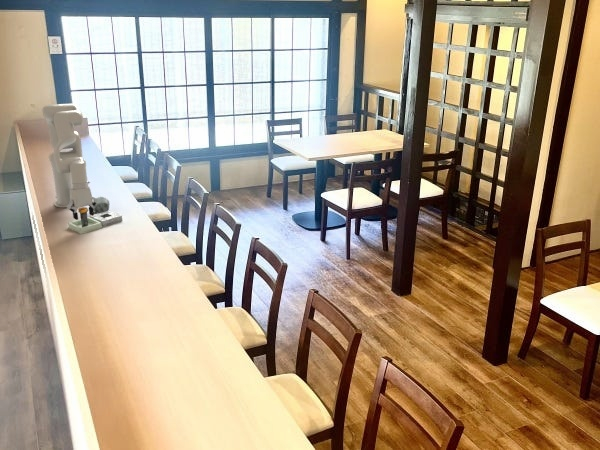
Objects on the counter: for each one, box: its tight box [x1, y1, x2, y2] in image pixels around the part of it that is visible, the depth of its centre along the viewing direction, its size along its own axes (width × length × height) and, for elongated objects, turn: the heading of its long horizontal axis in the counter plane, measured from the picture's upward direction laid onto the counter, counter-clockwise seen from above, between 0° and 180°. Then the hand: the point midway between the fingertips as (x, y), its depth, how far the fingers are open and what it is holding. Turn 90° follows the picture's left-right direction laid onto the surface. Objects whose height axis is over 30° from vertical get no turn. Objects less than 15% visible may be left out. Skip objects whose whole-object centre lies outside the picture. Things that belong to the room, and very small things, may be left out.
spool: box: [93, 196, 110, 214], centre depth 316 cm, size 14×10×10 cm
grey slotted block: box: [89, 209, 123, 228], centre depth 304 cm, size 12×12×3 cm
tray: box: [67, 216, 103, 235], centre depth 294 cm, size 12×12×3 cm
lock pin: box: [77, 206, 89, 227], centre depth 292 cm, size 5×5×10 cm
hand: (83, 217), depth 292 cm, fingers open, 8 cm apart
